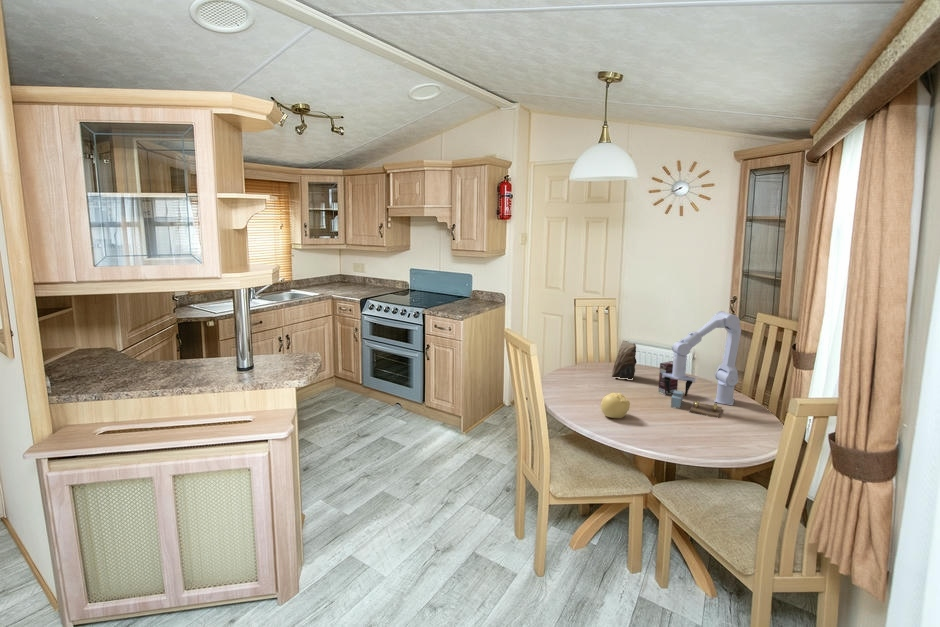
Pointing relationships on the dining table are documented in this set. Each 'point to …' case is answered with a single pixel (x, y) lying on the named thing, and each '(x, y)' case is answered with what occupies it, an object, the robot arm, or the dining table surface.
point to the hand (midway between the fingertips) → (677, 394)
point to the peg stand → (705, 409)
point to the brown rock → (625, 361)
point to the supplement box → (664, 368)
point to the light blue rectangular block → (676, 399)
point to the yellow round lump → (615, 405)
